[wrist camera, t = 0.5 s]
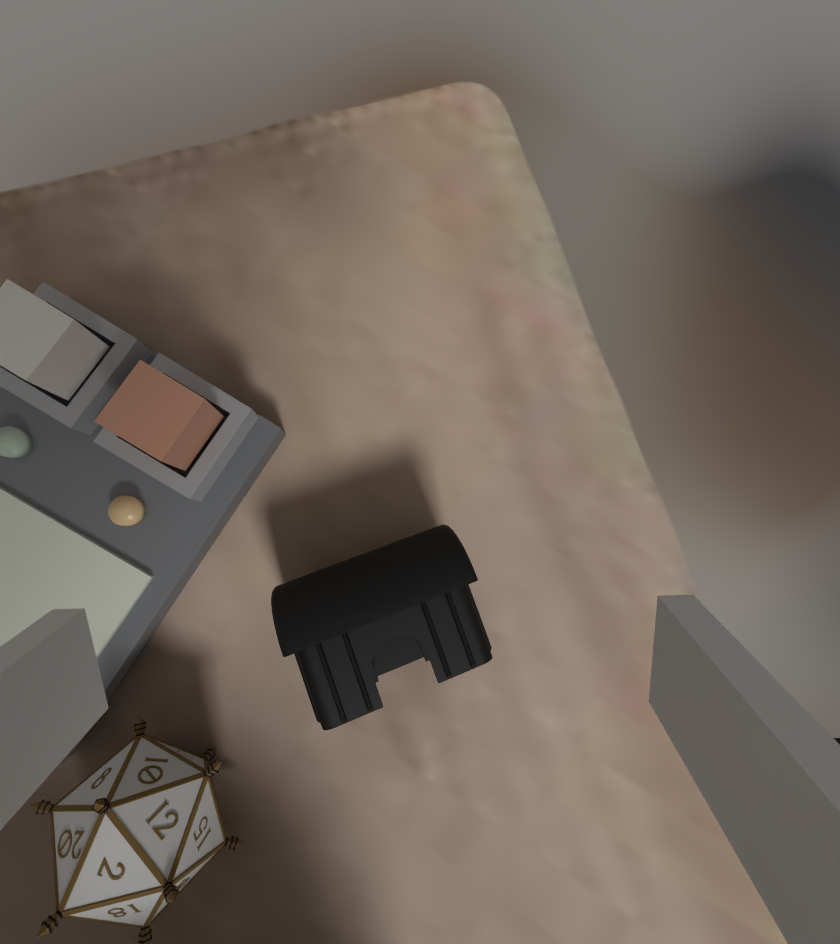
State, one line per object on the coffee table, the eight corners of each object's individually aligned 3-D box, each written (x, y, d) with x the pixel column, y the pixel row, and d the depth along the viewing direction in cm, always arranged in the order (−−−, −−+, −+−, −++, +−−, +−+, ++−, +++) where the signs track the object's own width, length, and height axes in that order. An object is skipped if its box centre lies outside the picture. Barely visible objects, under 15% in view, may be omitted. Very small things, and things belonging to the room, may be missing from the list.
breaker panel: (72, 754, 28) (26, 790, 24) (-185, 609, 27) (-277, 621, 23) (285, 434, 31) (275, 420, 27) (63, 299, 31) (21, 264, 27)
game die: (175, 788, 31) (2, 972, 23) (141, 672, 29) (-65, 826, 21) (294, 825, 28) (143, 1057, 19) (265, 697, 26) (81, 893, 17)
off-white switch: (68, 400, 26) (25, 380, 23) (8, 365, 26) (-44, 339, 23) (109, 346, 27) (74, 319, 24) (51, 311, 27) (7, 278, 23)
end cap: (436, 524, 32) (457, 521, 25) (475, 632, 32) (508, 658, 25) (281, 581, 30) (261, 594, 24) (320, 696, 30) (310, 742, 23)
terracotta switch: (185, 471, 27) (160, 461, 23) (127, 435, 27) (94, 421, 23) (223, 416, 27) (205, 399, 24) (167, 381, 27) (140, 359, 24)
